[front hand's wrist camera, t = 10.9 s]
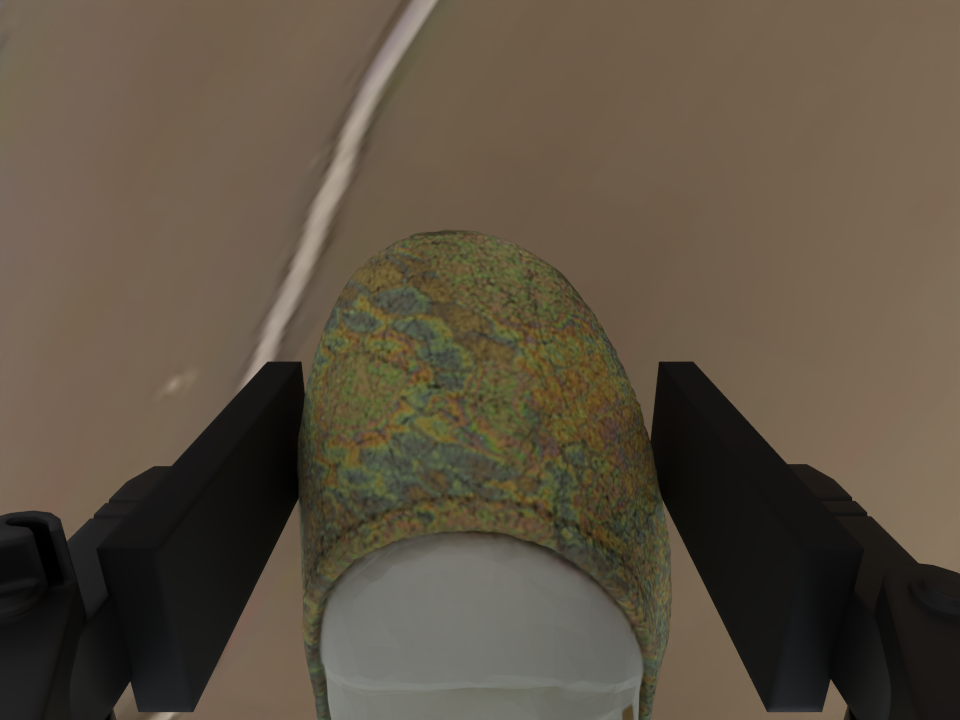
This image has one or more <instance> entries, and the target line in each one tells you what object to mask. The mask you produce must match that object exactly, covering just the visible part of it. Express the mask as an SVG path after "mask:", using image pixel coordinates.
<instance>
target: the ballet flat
mask: <svg viewBox="0 0 960 720" xmlns="http://www.w3.org/2000/svg"><path fill="white" fill-rule="evenodd" d="M297 471H298V488H299V503H298V511H299V515H300V531H301V546H302V577H303V619H302V631H303V637H304V644H305V653H306V659H307V663H308V667H309V673H310V679H311V682H312V686H313V692H314V695H315V701H316V710H317V717H318V720H650V717H651V713H652V707H653V700H654V695H655V689H656V685H657V679H658V675H659V671H660V667H661V663H662V660H663V656H664V653H665V650H666V646H667V642H668V636H669V620H670V617H671V602H672V595H671V576H670V575H671V564H670V546H669V536H668V532H667V524H666V521H665V516H664V509H663V502H662V496H661V491H660V487H659V483H658V479H657V470H656V467H655V464H654V456H653V450H652V447H651V443H650V440H649V437H648V432H647V430H646V428H645V426H644V420H643V415H642V413H641V409H640V404H639V403H638V402H637V400H636V395H635V392H634V390H633V389H632V387H631V384H630V382H629V379H628V377H627V375H626V373H625V370H624V367H623V366H622V364H621V362H620V360H619V358H618V356H617V353H616V350H615V348H614V347H613V346H612V344H611V342H610V341H609V339H608V337H607V335H606V334H605V332H604V330H603V328H602V326H601V324H600V323H599V322H598V320H597V318H596V316H595V314H594V313H593V311H592V310H591V309H590V308H589V307H588V306H587V304H586V303H585V302H584V301H583V299H582V298H581V296H580V295H579V293H578V292H577V291H576V290H575V289H574V287H573V286H572V285H571V284H570V282H569V281H568V280H567V279H566V277H565V276H564V275H563V274H562V273H560V272H559V271H558V270H557V269H555V268H554V267H552V266H551V265H549V264H548V263H546V262H545V261H543V260H542V259H540V258H539V257H538V256H536V255H534V254H533V253H531V252H529V251H527V250H525V249H523V248H522V247H520V246H518V245H516V244H514V243H511V242H509V241H507V240H505V239H501V238H498V237H495V236H492V235H486V234H481V233H478V232H473V231H461V230H443V231H439V232H422V233H417V234H414V235H412V236H410V237H408V238H406V239H403V240H398V241H397V242H395V243H394V244H392V245H391V246H389V247H388V248H386V249H384V250H382V251H380V252H379V253H377V254H376V255H375V256H373V257H372V258H370V259H369V260H368V261H367V262H366V263H365V264H364V265H363V266H361V267H360V268H359V269H358V270H357V271H356V272H355V273H354V274H353V276H352V277H351V279H350V280H349V282H348V283H347V284H346V286H345V287H344V289H343V291H342V293H341V294H340V296H339V298H338V300H337V302H336V304H335V306H334V308H333V310H332V313H331V316H330V318H329V319H328V321H327V323H326V325H325V328H324V331H323V333H322V336H321V339H320V343H319V345H318V348H317V351H316V353H315V357H314V361H313V365H312V368H311V372H310V376H309V380H308V383H307V388H306V394H305V398H304V408H303V414H302V420H301V427H300V432H299V437H298V459H297Z"/></svg>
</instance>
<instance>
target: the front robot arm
mask: <svg viewBox="0 0 960 720" xmlns="http://www.w3.org/2000/svg"><path fill="white" fill-rule="evenodd" d="M304 398H305V391H304V381H303V372H302V363H301V362H267V363H266V364H265V365H264V366H263V367H262V368H261V369H260V370H259V371H258V372H257V374H256V375H255V376H254V377H253V378H252V379H251V380H250V381H249V382H248V383H247V384H246V386H245V387H244V388H243V389H242V390H241V391H240V392H239V393H238V394H237V395H236V396H235V398H234V399H233V400H232V401H231V402H230V403H229V404H228V405H227V406H226V407H225V408H224V410H223V411H222V412H221V413H220V414H219V415H218V416H217V417H216V418H215V419H214V420H213V422H212V423H211V424H210V425H209V426H208V427H207V428H206V429H205V430H204V431H203V432H202V434H201V435H200V436H199V437H198V438H197V439H196V440H195V441H194V442H193V443H192V444H191V446H190V447H189V448H188V449H187V450H186V451H185V452H184V453H183V454H182V455H181V456H180V458H179V459H178V460H177V461H176V462H175V463H174V464H173V465H172V466H154V467H152V468H150V469H148V470H147V471H145V472H143V473H141V474H140V475H138V476H136V477H134V478H133V479H131V480H129V481H127V482H126V483H125V484H124V485H123V486H122V487H121V488H120V489H119V490H118V491H117V492H116V493H115V494H114V495H113V496H112V497H111V498H110V499H109V503H105V504H104V505H103V506H102V507H101V508H100V509H99V510H98V511H97V512H96V513H95V514H94V518H93V519H89V520H88V521H87V522H86V523H85V524H84V525H83V526H82V527H81V528H80V529H79V530H78V531H77V532H76V533H75V534H74V535H73V536H72V537H71V538H70V539H69V540H68V541H66V538H65V534H64V530H63V527H62V523H61V520H60V519H59V518H58V517H56V516H55V515H53V514H52V513H49V512H40V511H25V512H16V513H9V514H5V515H2V516H0V720H116V717H115V713H114V710H113V707H114V706H115V704H116V703H117V701H118V700H119V698H120V696H121V695H122V693H123V692H124V690H125V689H126V687H127V685H128V684H129V682H130V681H131V685H132V689H133V693H134V696H135V700H136V704H137V708H138V712H193V711H194V709H195V707H196V705H197V703H198V701H199V699H200V697H201V695H202V693H203V691H204V689H205V687H206V685H207V683H208V681H209V679H210V677H211V675H212V673H213V671H214V669H215V667H216V665H217V663H218V661H219V659H220V656H221V654H222V652H223V650H224V648H225V646H226V644H227V642H228V640H229V638H230V636H231V634H232V632H233V630H234V628H235V626H236V624H237V622H238V620H239V618H240V616H241V614H242V612H243V610H244V608H245V606H246V604H247V602H248V600H249V598H250V596H251V594H252V592H253V589H254V587H255V585H256V583H257V581H258V579H259V577H260V575H261V573H262V571H263V569H264V567H265V565H266V563H267V561H268V559H269V557H270V555H271V553H272V551H273V549H274V547H275V545H276V543H277V541H278V539H279V537H280V535H281V533H282V531H283V529H284V527H285V525H286V522H287V520H288V518H289V516H290V514H291V512H292V510H293V508H294V506H295V504H296V502H297V500H298V498H299V488H298V471H297V459H298V437H299V432H300V427H301V420H302V414H303V408H304ZM650 443H651V447H652V450H653V456H654V464H655V467H656V470H657V479H658V483H659V487H660V491H661V496H662V499H663V501H664V503H665V505H666V507H667V509H668V511H669V513H670V515H671V518H672V520H673V522H674V524H675V526H676V528H677V530H678V532H679V534H680V536H681V538H682V540H683V542H684V544H685V546H686V548H687V550H688V552H689V554H690V556H691V558H692V560H693V562H694V564H695V566H696V568H697V570H698V572H699V574H700V576H701V578H702V580H703V582H704V585H705V587H706V589H707V591H708V593H709V595H710V597H711V599H712V601H713V603H714V605H715V607H716V609H717V611H718V613H719V615H720V617H721V619H722V621H723V623H724V625H725V627H726V629H727V631H728V633H729V635H730V637H731V639H732V641H733V643H734V645H735V647H736V649H737V651H738V654H739V656H740V658H741V660H742V662H743V664H744V666H745V668H746V670H747V672H748V674H749V676H750V678H751V680H752V682H753V684H754V686H755V688H756V690H757V692H758V694H759V696H760V698H761V700H762V702H763V704H764V706H765V708H766V710H767V712H822V710H823V706H824V702H825V698H826V695H827V691H828V687H829V683H830V679H831V680H832V681H833V683H834V685H835V686H836V688H837V689H838V691H839V692H840V694H841V696H842V697H843V699H844V700H845V702H846V703H847V705H848V706H847V710H846V713H845V717H844V720H960V574H959V573H957V572H954V571H951V570H947V569H944V568H941V567H938V566H934V565H928V564H920V563H918V562H917V561H916V560H915V559H914V558H913V557H912V556H911V555H910V554H909V553H908V552H907V551H906V550H905V549H904V548H903V547H901V546H900V545H899V544H898V543H897V542H896V541H895V540H894V539H893V538H892V537H891V536H890V535H889V534H888V533H887V532H886V531H885V530H884V529H883V528H882V527H881V526H880V525H879V524H878V523H877V522H876V521H875V520H874V519H873V518H872V517H871V516H867V512H866V511H865V510H864V509H863V508H862V507H861V506H860V505H859V504H858V503H857V502H856V501H852V497H851V496H850V495H849V494H848V493H847V492H846V491H845V490H844V489H843V488H842V487H841V486H840V485H839V484H838V483H837V482H836V481H835V480H834V479H832V478H830V477H828V476H827V475H825V474H823V473H821V472H820V471H818V470H816V469H814V468H813V467H811V466H809V465H807V464H786V462H785V461H784V460H783V459H782V458H781V457H780V456H779V455H778V454H777V453H776V452H775V450H774V449H773V448H772V447H771V446H770V445H769V444H768V443H767V442H766V441H765V440H764V438H763V437H762V436H761V435H760V434H759V433H758V432H757V431H756V430H755V429H754V428H753V426H752V425H751V424H750V423H749V422H748V421H747V420H746V419H745V418H744V417H743V416H742V414H741V413H740V412H739V411H738V410H737V409H736V408H735V407H734V406H733V405H732V404H731V402H730V401H729V400H728V399H727V398H726V397H725V396H724V395H723V394H722V393H721V392H720V390H719V389H718V388H717V387H716V386H715V385H714V384H713V383H712V382H711V381H710V380H709V378H708V377H707V376H706V375H705V374H704V373H703V372H702V371H701V370H700V369H699V368H698V366H697V365H696V364H695V363H694V362H659V367H658V377H657V386H656V395H655V404H654V414H653V423H652V432H651V441H650Z"/></svg>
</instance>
